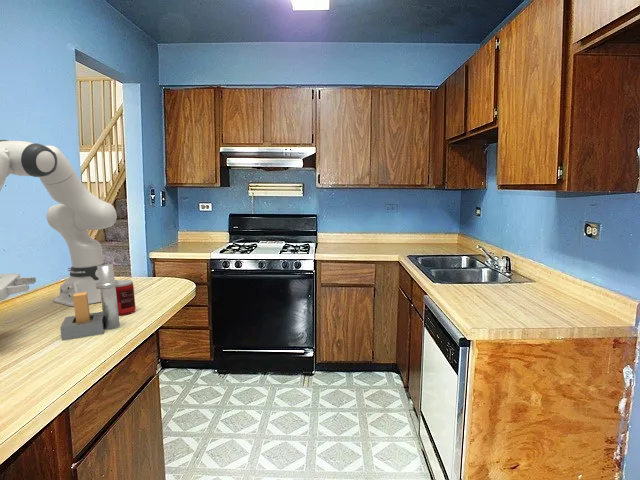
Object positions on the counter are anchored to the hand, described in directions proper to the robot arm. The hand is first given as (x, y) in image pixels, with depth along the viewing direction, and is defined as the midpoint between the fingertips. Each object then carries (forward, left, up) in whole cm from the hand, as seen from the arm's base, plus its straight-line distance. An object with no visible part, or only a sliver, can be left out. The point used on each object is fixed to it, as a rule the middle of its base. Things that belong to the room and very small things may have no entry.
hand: (32, 283), depth 124 cm
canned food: (+5, +27, -17) cm, 32 cm away
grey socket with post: (+10, +11, -17) cm, 22 cm away
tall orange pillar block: (+8, +9, -17) cm, 21 cm away
